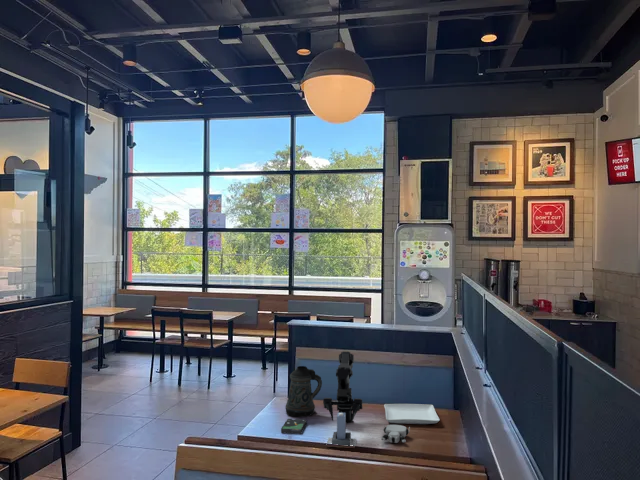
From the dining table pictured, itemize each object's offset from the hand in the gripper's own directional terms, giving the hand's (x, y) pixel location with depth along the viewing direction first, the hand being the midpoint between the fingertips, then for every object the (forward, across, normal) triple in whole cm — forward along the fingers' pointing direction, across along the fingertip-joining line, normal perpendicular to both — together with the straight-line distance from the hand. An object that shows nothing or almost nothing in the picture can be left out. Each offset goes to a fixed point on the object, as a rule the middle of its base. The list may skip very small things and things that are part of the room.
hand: (342, 420), depth 220 cm
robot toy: (+4, +25, +9) cm, 27 cm away
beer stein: (-21, -25, +34) cm, 47 cm away
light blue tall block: (+10, 0, +2) cm, 10 cm away
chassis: (+10, 0, +2) cm, 10 cm away
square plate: (-18, +34, +32) cm, 50 cm away
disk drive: (-2, -25, +16) cm, 30 cm away
